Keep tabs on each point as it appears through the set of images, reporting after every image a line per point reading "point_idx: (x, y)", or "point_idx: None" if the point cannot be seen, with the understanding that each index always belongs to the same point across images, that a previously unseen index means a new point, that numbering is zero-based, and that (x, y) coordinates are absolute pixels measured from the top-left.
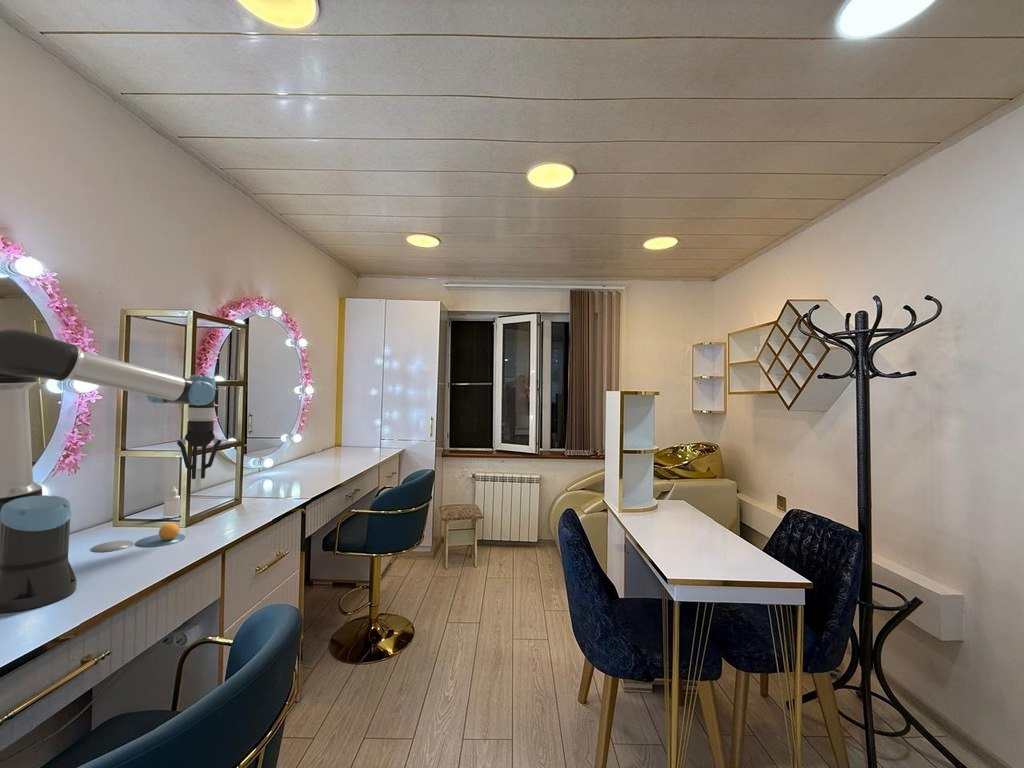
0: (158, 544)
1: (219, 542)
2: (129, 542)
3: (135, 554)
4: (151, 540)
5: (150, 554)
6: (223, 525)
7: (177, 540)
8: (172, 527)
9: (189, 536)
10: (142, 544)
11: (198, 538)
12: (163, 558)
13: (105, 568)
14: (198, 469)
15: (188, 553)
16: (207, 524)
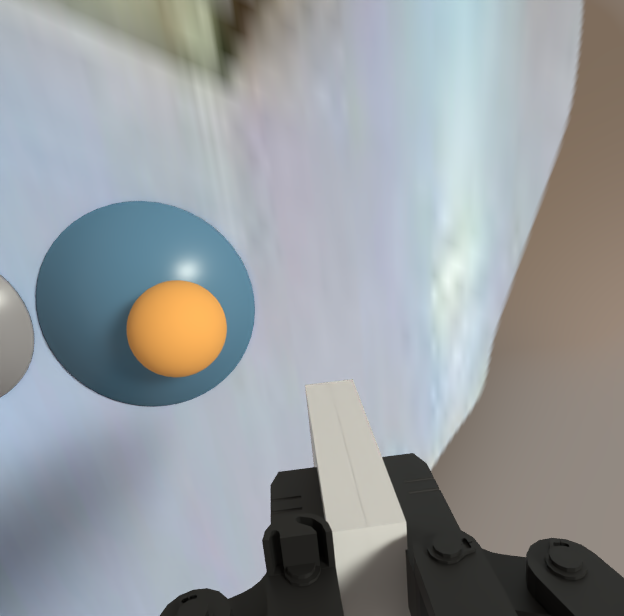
0: (157, 385)
1: (412, 433)
2: (5, 301)
3: (99, 479)
4: (105, 307)
5: (161, 498)
6: (428, 124)
7: (230, 350)
8: (194, 370)
9: (273, 288)
10: (83, 360)
11: (319, 339)
12: (223, 557)
13: (48, 597)
14: (369, 588)
15: None
16: (339, 56)
